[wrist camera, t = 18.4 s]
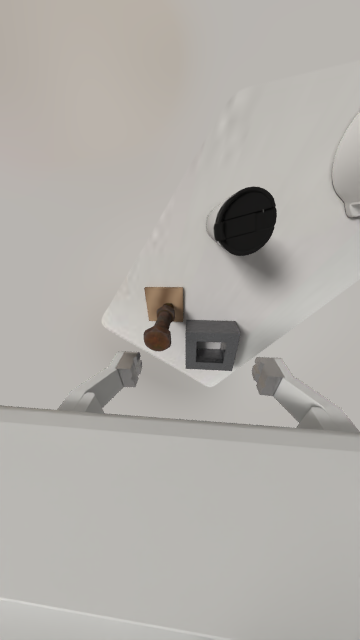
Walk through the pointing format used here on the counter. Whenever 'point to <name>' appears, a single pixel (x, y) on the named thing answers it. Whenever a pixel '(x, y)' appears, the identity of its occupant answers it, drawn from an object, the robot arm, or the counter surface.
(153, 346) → the bolt
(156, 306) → the walnut pad
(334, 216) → the counter surface
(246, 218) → the travel mug
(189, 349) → the socket block
